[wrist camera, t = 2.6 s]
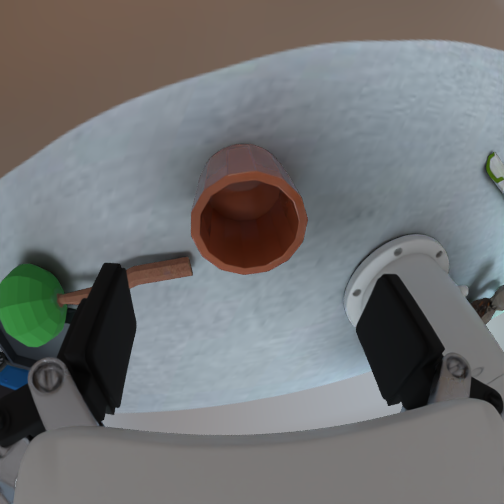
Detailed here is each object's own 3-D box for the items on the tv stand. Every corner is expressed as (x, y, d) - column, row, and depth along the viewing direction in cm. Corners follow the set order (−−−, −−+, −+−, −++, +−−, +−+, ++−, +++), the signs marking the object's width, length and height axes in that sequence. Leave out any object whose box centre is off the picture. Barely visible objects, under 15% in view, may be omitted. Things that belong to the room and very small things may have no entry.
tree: (179, 210, 25) (7, 262, 23) (178, 239, 18) (-29, 298, 16) (198, 284, 29) (36, 322, 26) (206, 332, 22) (11, 367, 19)
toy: (482, 428, 19) (533, 294, 17) (411, 409, 25) (453, 276, 23) (479, 370, 33) (506, 279, 32) (430, 357, 39) (454, 268, 38)
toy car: (94, 400, 38) (83, 453, 29) (10, 379, 35) (-6, 422, 27) (73, 368, 32) (55, 429, 24) (-14, 346, 30) (-36, 393, 22)
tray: (81, 310, 27) (75, 324, 25) (107, 373, 33) (104, 386, 31) (-18, 294, 25) (-25, 305, 23) (16, 354, 31) (12, 364, 29)
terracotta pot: (291, 147, 20) (317, 176, 14) (278, 225, 23) (295, 276, 18) (202, 139, 19) (192, 167, 14) (198, 221, 22) (191, 272, 17)
